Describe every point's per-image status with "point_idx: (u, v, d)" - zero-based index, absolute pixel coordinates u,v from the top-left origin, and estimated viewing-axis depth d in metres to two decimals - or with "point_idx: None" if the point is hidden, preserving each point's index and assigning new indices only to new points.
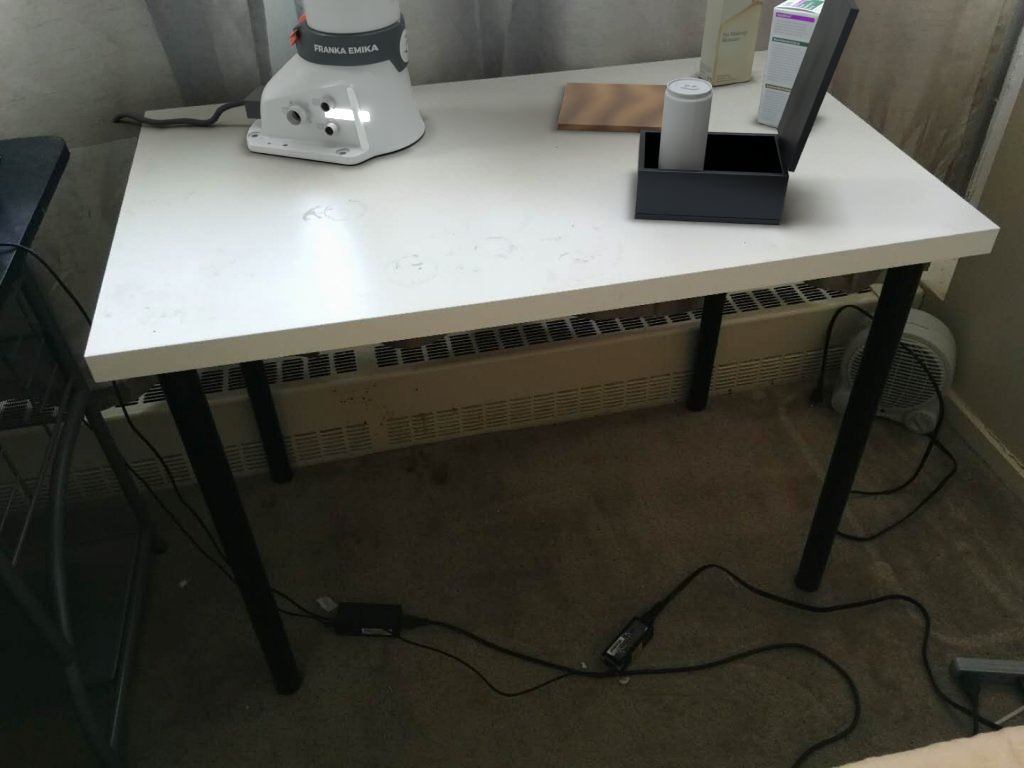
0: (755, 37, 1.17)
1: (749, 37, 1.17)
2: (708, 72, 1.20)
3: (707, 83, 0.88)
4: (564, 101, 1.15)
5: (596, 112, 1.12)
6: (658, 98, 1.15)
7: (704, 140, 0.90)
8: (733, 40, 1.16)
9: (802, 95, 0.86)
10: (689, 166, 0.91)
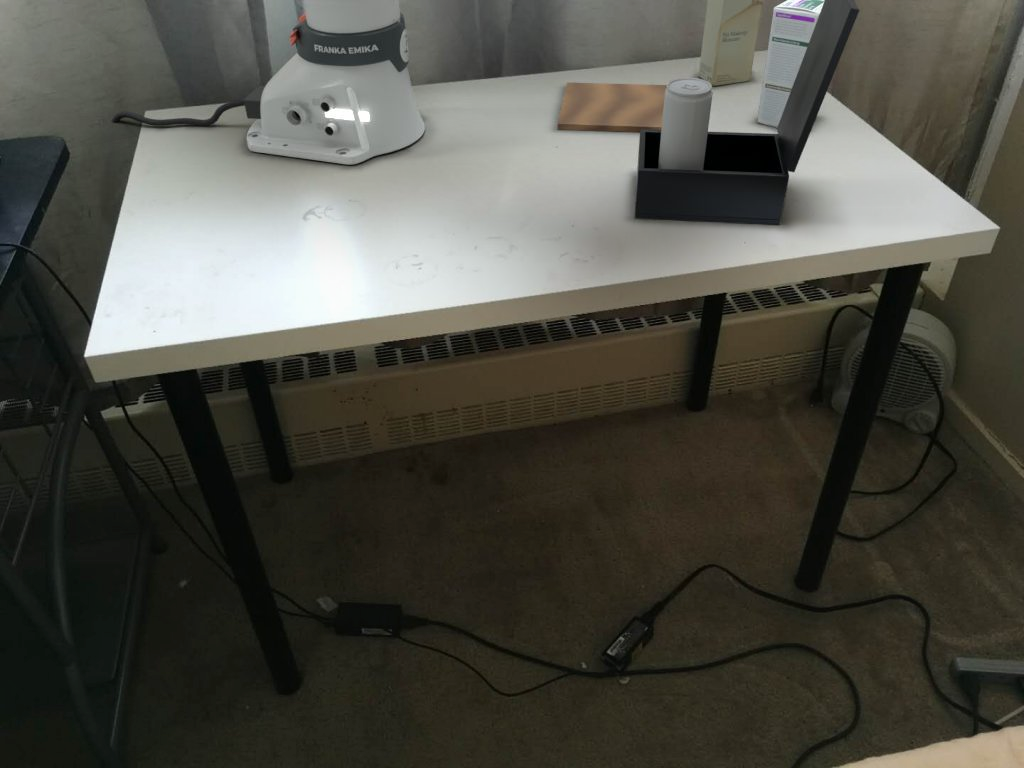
0: (755, 37, 1.17)
1: (749, 37, 1.17)
2: (708, 72, 1.20)
3: (707, 83, 0.88)
4: (564, 101, 1.15)
5: (596, 112, 1.12)
6: (658, 98, 1.15)
7: (704, 140, 0.90)
8: (733, 40, 1.16)
9: (802, 95, 0.86)
10: (689, 166, 0.91)
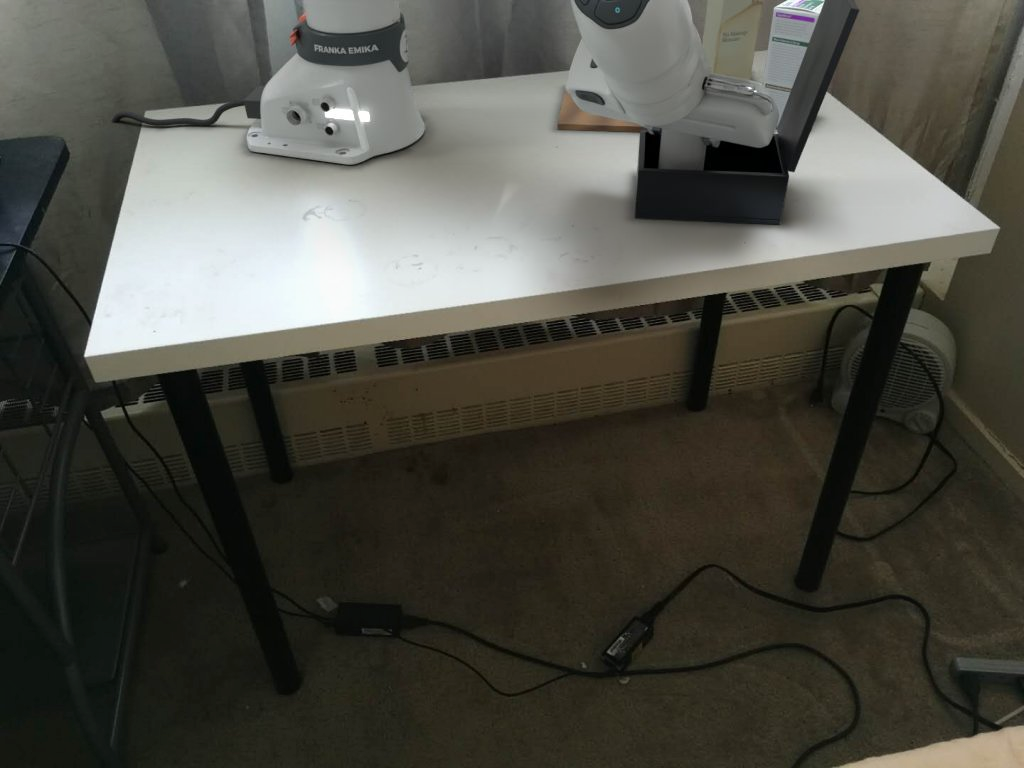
0: (755, 37, 1.17)
1: (749, 37, 1.17)
2: None
3: None
4: (564, 101, 1.15)
5: None
6: None
7: None
8: (733, 40, 1.16)
9: (802, 95, 0.86)
10: (689, 166, 0.91)
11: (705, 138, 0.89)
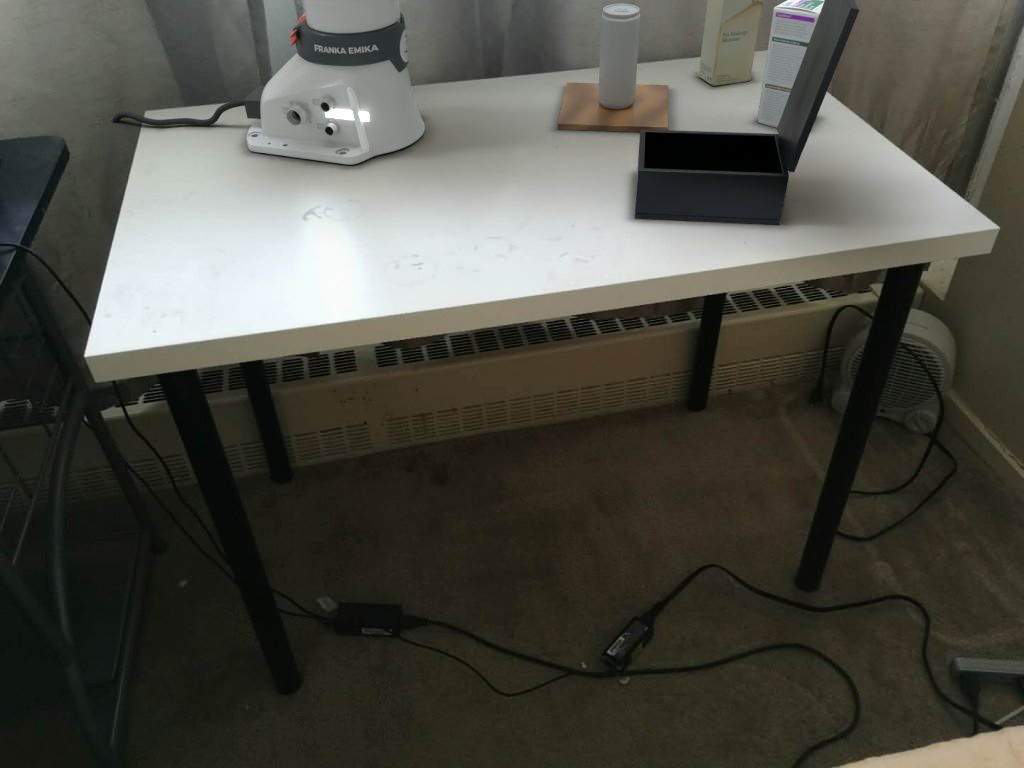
0: (755, 36, 1.17)
1: (749, 37, 1.17)
2: (708, 72, 1.20)
3: (636, 7, 1.07)
4: (564, 101, 1.15)
5: (596, 112, 1.12)
6: (658, 98, 1.15)
7: (634, 55, 1.08)
8: (733, 40, 1.16)
9: (802, 95, 0.86)
10: (623, 78, 1.10)
11: None
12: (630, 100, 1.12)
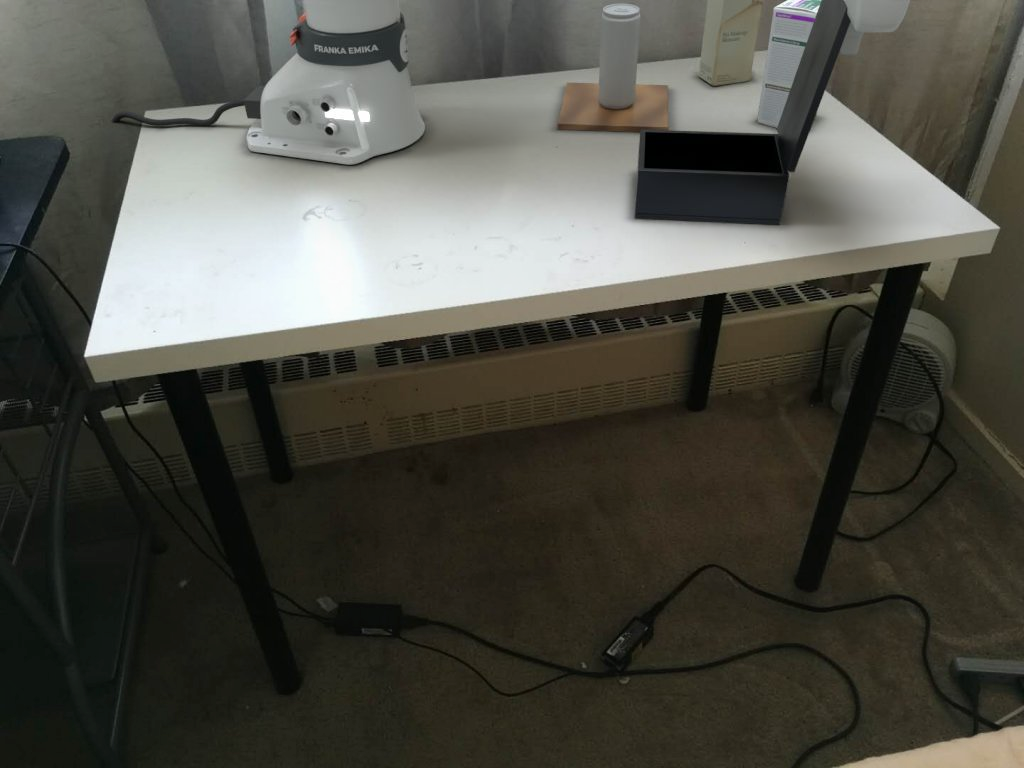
0: (755, 37, 1.17)
1: (749, 37, 1.17)
2: (708, 72, 1.20)
3: (636, 7, 1.07)
4: (564, 101, 1.15)
5: (596, 112, 1.12)
6: (658, 98, 1.15)
7: (634, 55, 1.08)
8: (733, 40, 1.16)
9: (801, 95, 0.86)
10: (623, 78, 1.10)
11: None
12: (630, 100, 1.12)
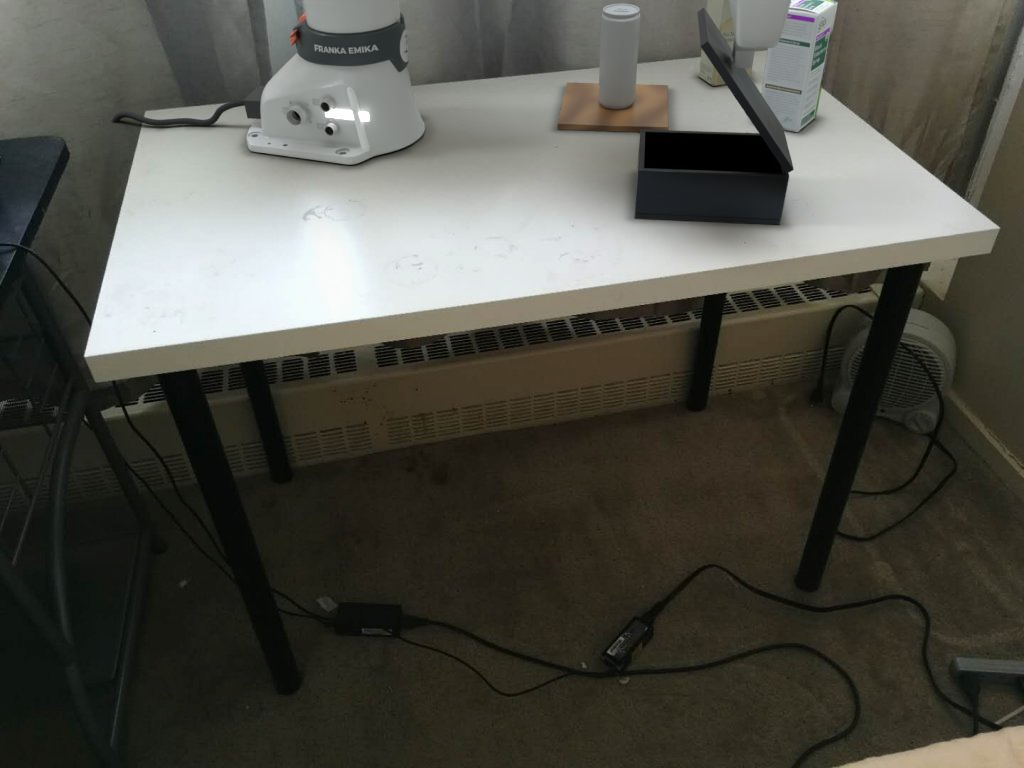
0: None
1: None
2: (708, 72, 1.20)
3: (636, 7, 1.07)
4: (564, 101, 1.15)
5: (596, 112, 1.12)
6: (658, 98, 1.15)
7: (634, 55, 1.08)
8: (733, 40, 1.16)
9: None
10: (623, 78, 1.10)
11: None
12: (630, 100, 1.12)
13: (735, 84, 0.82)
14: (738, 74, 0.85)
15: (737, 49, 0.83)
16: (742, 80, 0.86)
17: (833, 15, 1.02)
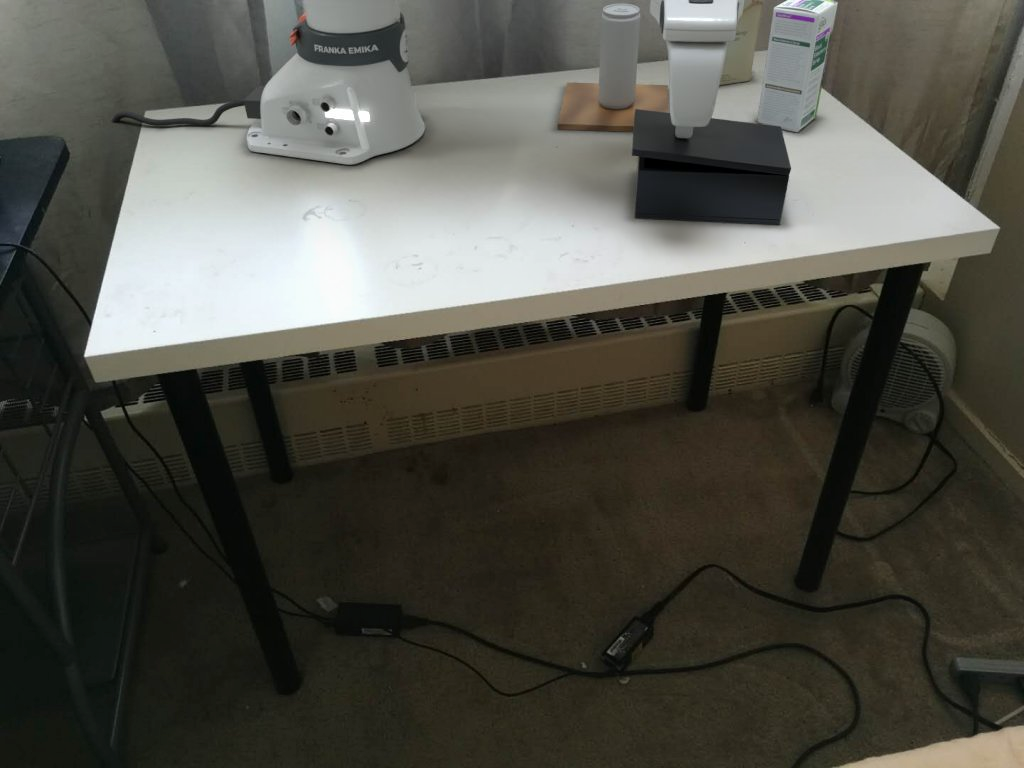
0: (755, 36, 1.17)
1: (749, 37, 1.17)
2: None
3: (636, 7, 1.07)
4: (564, 101, 1.15)
5: (596, 112, 1.12)
6: (658, 98, 1.15)
7: (634, 55, 1.08)
8: None
9: None
10: (623, 78, 1.10)
11: None
12: (630, 100, 1.12)
13: (682, 155, 0.87)
14: (690, 137, 0.90)
15: None
16: (697, 138, 0.90)
17: (833, 15, 1.02)
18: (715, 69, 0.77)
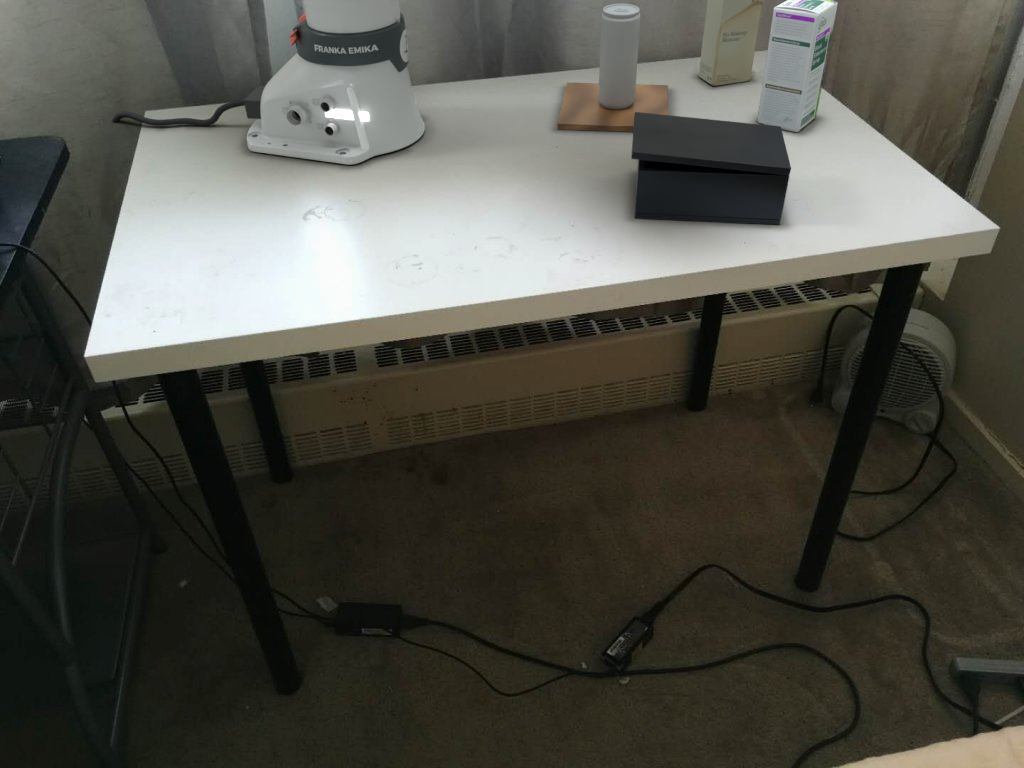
0: (755, 36, 1.17)
1: (749, 37, 1.17)
2: (708, 72, 1.20)
3: (636, 7, 1.07)
4: (564, 101, 1.15)
5: (596, 112, 1.12)
6: (658, 98, 1.15)
7: (634, 55, 1.08)
8: (733, 40, 1.16)
9: None
10: (623, 78, 1.10)
11: None
12: (630, 100, 1.12)
13: (681, 157, 0.87)
14: (689, 139, 0.90)
15: None
16: (697, 140, 0.90)
17: (833, 15, 1.02)
18: None
